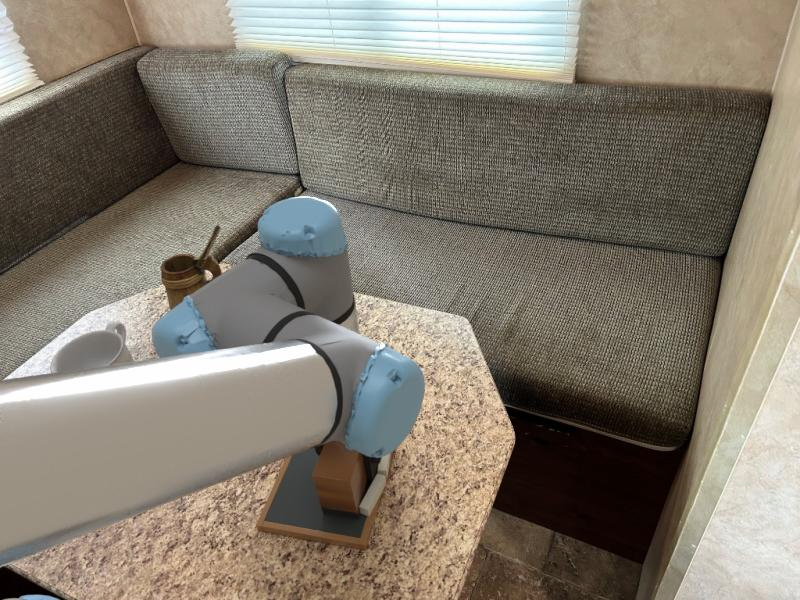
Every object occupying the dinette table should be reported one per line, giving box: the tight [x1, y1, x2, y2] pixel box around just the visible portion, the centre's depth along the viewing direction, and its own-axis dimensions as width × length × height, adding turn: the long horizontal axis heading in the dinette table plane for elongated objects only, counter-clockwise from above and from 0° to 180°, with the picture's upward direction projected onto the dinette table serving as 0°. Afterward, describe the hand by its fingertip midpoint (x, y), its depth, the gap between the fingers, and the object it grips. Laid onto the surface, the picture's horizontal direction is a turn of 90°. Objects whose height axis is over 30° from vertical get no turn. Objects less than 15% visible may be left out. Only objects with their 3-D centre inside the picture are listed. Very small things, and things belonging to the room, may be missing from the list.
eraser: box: [312, 441, 369, 519], centre depth 76 cm, size 12×5×8 cm, turn 167°
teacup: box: [49, 320, 135, 373], centre depth 95 cm, size 14×11×8 cm
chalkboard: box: [255, 447, 396, 551], centre depth 80 cm, size 18×14×1 cm
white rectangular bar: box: [359, 474, 387, 516], centre depth 75 cm, size 5×1×2 cm, turn 156°
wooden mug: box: [160, 224, 223, 311], centre depth 103 cm, size 9×14×18 cm, turn 90°
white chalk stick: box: [377, 453, 391, 479], centre depth 79 cm, size 5×1×2 cm, turn 174°
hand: (353, 470), depth 78 cm, fingers closed on eraser, 5 cm apart
